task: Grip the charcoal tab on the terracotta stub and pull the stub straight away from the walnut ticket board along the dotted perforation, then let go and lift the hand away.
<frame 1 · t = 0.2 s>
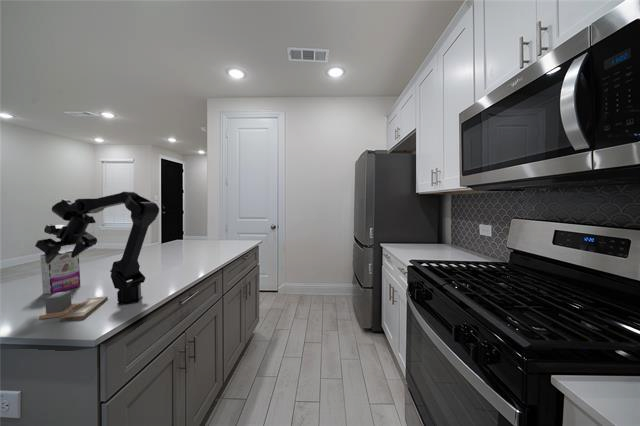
hand: (60, 260, 104), 15 cm above the counter, tool tilted 30°, fingers open, 9 cm apart
ticket board: (86, 309, 93), on the counter
candy bar box: (62, 290, 112), on the counter
stub: (60, 303, 90), point 3 cm above the counter, slide at 0.0 cm
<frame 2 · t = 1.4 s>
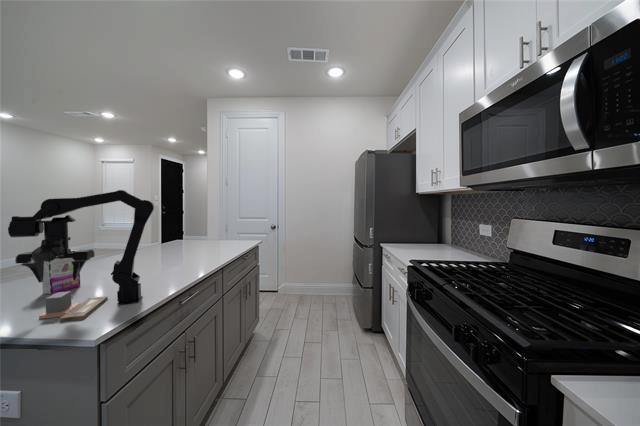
hand: (58, 280, 90), 11 cm above the counter, tool pointing down, fingers open, 9 cm apart
nothing on the counter moved.
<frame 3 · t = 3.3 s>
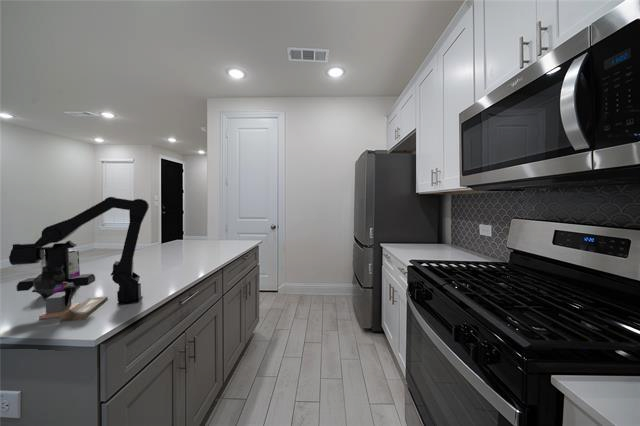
hand: (59, 306, 90), 2 cm above the counter, tool pointing down, fingers closed on stub, 4 cm apart
stub: (60, 303, 90), point 3 cm above the counter, slide at 0.0 cm, touching gripper
everything else where it was.
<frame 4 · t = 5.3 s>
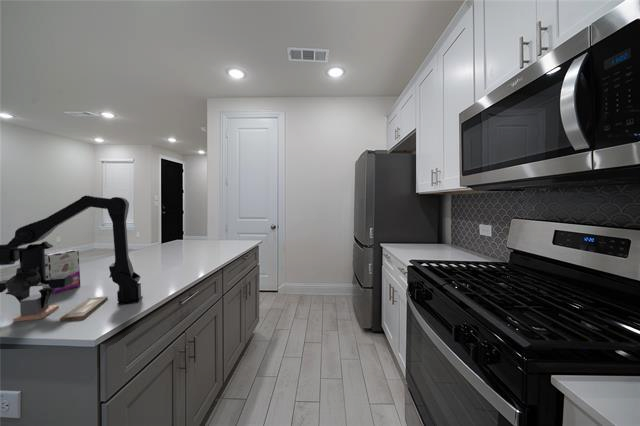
hand: (35, 308, 88), 2 cm above the counter, tool pointing down, fingers closed on stub, 4 cm apart
stub: (36, 305, 88), point 3 cm above the counter, slide at 6.3 cm, touching gripper
everything else where it was.
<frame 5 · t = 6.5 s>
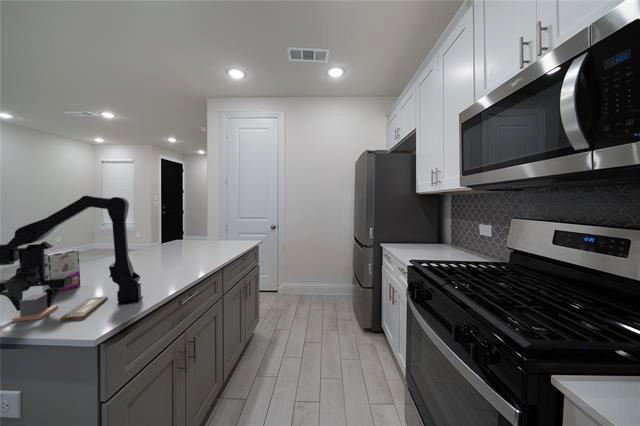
hand: (34, 309, 88), 2 cm above the counter, tool pointing down, fingers open, 7 cm apart
stub: (36, 305, 88), point 3 cm above the counter, slide at 6.4 cm
everything else where it was.
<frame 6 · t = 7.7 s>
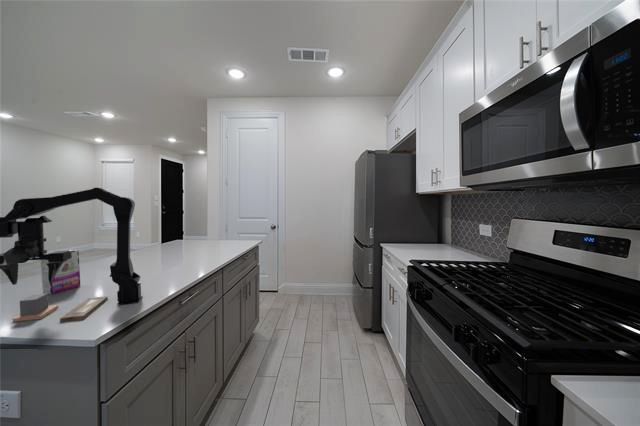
hand: (33, 283, 87), 11 cm above the counter, tool pointing down, fingers open, 9 cm apart
nothing on the counter moved.
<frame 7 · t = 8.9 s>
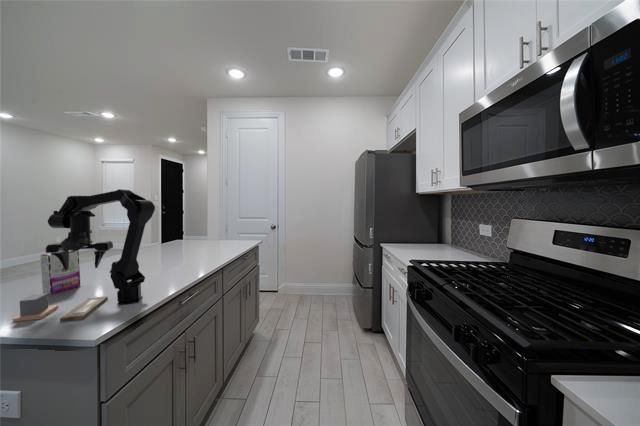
hand: (81, 268, 101), 12 cm above the counter, tool pointing down, fingers open, 9 cm apart
nothing on the counter moved.
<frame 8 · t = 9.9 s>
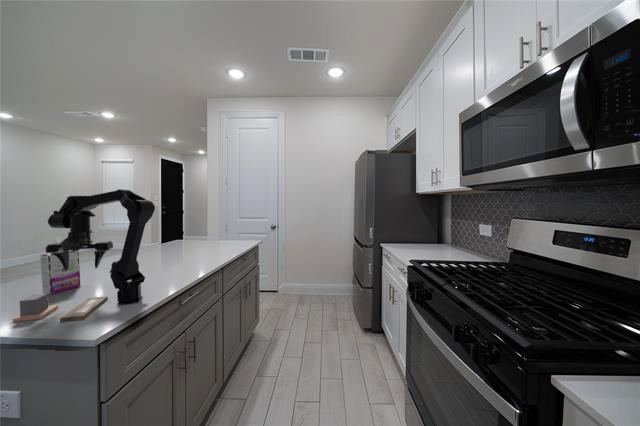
hand: (81, 268, 101), 12 cm above the counter, tool pointing down, fingers open, 9 cm apart
nothing on the counter moved.
at the end: stub slide at 6.4 cm; the gripper is holding nothing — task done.
